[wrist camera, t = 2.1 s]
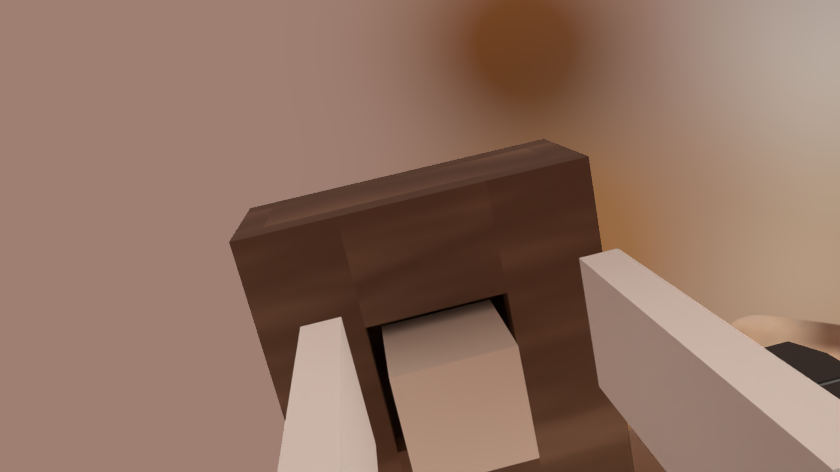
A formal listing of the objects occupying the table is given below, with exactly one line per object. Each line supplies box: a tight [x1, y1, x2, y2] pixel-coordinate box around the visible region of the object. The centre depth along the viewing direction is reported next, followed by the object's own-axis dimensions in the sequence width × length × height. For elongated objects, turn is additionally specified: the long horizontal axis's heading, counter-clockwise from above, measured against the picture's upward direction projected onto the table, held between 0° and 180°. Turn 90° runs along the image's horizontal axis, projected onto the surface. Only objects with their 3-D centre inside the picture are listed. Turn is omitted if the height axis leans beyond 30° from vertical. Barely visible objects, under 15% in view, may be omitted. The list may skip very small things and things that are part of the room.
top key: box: [381, 299, 540, 472], centre depth 22 cm, size 4×4×4 cm
